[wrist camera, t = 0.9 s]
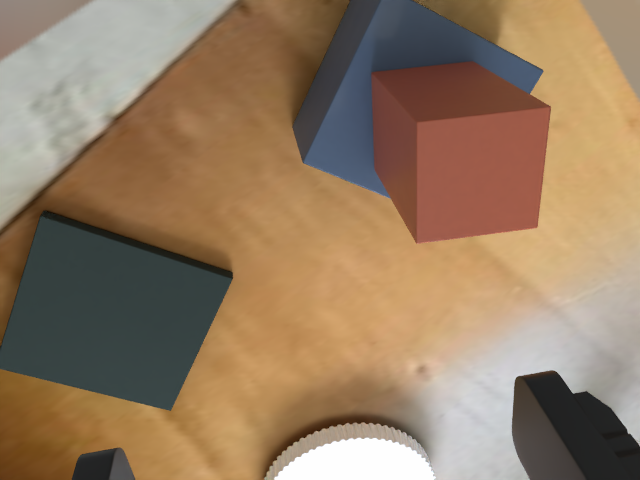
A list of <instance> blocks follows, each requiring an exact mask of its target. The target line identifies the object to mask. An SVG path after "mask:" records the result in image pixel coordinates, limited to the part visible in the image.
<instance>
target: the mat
mask: <svg viewBox="0 0 640 480" xmlns="http://www.w3.org/2000/svg"><path fill="white" fill-rule="evenodd" d="M232 279H233V273H232V272H229V271H226V270H223V269H220V268H217V267H214V266H211V265H208V264H205V263H201V262H198V261H195V260H192V259H189V258H186V257H183V256H180V255H177V254H174V253H171V252H168V251H165V250H162V249H159V248H156V247H153V246H150V245H147V244H144V243H141V242H138V241H135V240H132V239H129V238H126V237H123V236H120V235H117V234H114V233H111V232H108V231H105V230H102V229H99V228H96V227H93V226H89V225H86V224H83V223H80V222H77V221H74V220H71V219H68V218H65V217H62V216H59V215H56V214H53V213H50V212H47V211H43V213H42V214H41V216H40V219H39V222H38V225H37V229H36V232H35V235H34V239H33V242H32V245H31V248H30V252H29V255H28V258H27V262H26V265H25V268H24V272H23V275H22V278H21V282H20V285H19V288H18V291H17V295H16V298H15V301H14V305H13V308H12V311H11V315H10V318H9V321H8V325H7V328H6V331H5V334H4V338H3V341H2V344H1V348H0V369H3V370H7V371H11V372H15V373H19V374H23V375H27V376H32V377H36V378H40V379H44V380H48V381H52V382H56V383H60V384H64V385H68V386H72V387H76V388H80V389H84V390H88V391H92V392H96V393H101V394H105V395H109V396H113V397H117V398H121V399H125V400H129V401H133V402H137V403H141V404H145V405H149V406H153V407H157V408H161V409H165V410H169V411H171V409H172V407H173V405H174V403H175V401H176V398H177V396H178V394H179V392H180V390H181V388H182V386H183V384H184V381H185V379H186V377H187V375H188V373H189V371H190V369H191V367H192V364H193V362H194V360H195V358H196V356H197V354H198V352H199V350H200V347H201V345H202V343H203V341H204V339H205V337H206V335H207V332H208V330H209V328H210V326H211V324H212V322H213V320H214V318H215V315H216V313H217V311H218V309H219V307H220V305H221V303H222V301H223V298H224V296H225V294H226V292H227V290H228V288H229V286H230V284H231V281H232Z"/></svg>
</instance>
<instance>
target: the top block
mask: <svg viewBox="0 0 640 480" xmlns="http://www.w3.org/2000/svg"><path fill="white" fill-rule="evenodd" d="M371 82H372V111H373V141H374V170H375V172H376V173H377V175H378V177H379V179H380V180H381V182H382V184H383V186H384V187H385V189H386V191H387V193H388V194H389V196H390V198H391V200H392V201H393V203H394V205H395V207H396V208H397V210H398V212H399V214H400V215H401V217H402V219H403V221H404V222H405V224H406V226H407V228H408V229H409V231H410V233H411V235H412V236H413V238H414V240H415V242H416V243H417V244H419V243H426V242H434V241H441V240H449V239H457V238H464V237H472V236H480V235H487V234H495V233H502V232H510V231H518V230H525V229H533V228H537V226H538V218H539V209H540V200H541V191H542V182H543V173H544V164H545V155H546V146H547V137H548V129H549V120H550V111H551V107H550V106H549V105H547V104H546V103H544V102H542V101H540V100H539V99H537V98H535V97H534V96H532V95H530V94H528V93H527V92H525V91H523V90H521V89H520V88H518V87H516V86H515V85H513V84H511V83H509V82H508V81H506V80H504V79H503V78H501V77H499V76H497V75H496V74H494V73H492V72H491V71H489V70H487V69H485V68H484V67H482V66H480V65H479V64H477V63H475V62H473V61H470V62H461V63H452V64H443V65H433V66H424V67H415V68H405V69H396V70H387V71H377V72H372V73H371Z"/></svg>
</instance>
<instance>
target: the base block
mask: <svg viewBox="0 0 640 480" xmlns="http://www.w3.org/2000/svg"><path fill="white" fill-rule="evenodd" d="M470 61H473V62H475V63H477V64H479V65H480V66H482V67H484V68H485V69H487V70H489V71H491V72H492V73H494V74H496V75H497V76H499V77H501V78H503V79H504V80H506V81H508V82H509V83H511V84H513V85H515V86H516V87H518V88H520V89H521V90H523V91H525V92H527V93H528V94H530V93H531V91H532V89H533V88H534V86H535V85H536V83H537V81H538V80H539V78H540V76H541V75H542V73H543V70H542V69H540V68H538V67H537V66H535V65H533V64H531V63H529V62H527V61H525V60H523V59H522V58H520V57H518V56H516V55H514V54H512V53H510V52H508V51H506V50H505V49H503V48H501V47H499V46H497V45H495V44H493V43H491V42H490V41H488V40H486V39H484V38H482V37H480V36H478V35H476V34H474V33H473V32H471V31H469V30H467V29H465V28H463V27H461V26H459V25H458V24H456V23H454V22H452V21H450V20H448V19H446V18H444V17H443V16H441V15H439V14H437V13H435V12H433V11H431V10H429V9H427V8H426V7H424V6H422V5H420V4H418V3H416V2H414V1H412V0H350V3H349V5H348V7H347V9H346V11H345V13H344V16H343V18H342V20H341V22H340V24H339V26H338V29H337V31H336V33H335V35H334V37H333V39H332V42H331V44H330V46H329V48H328V50H327V52H326V55H325V57H324V59H323V61H322V63H321V65H320V68H319V70H318V72H317V74H316V76H315V78H314V81H313V83H312V85H311V87H310V89H309V91H308V94H307V96H306V98H305V100H304V102H303V104H302V107H301V109H300V111H299V113H298V115H297V117H296V120H295V122H294V124H293V126H292V127H293V131H294V134H295V138H296V141H297V145H298V148H299V151H300V155H301V158H302V162H303V163H304V164H307V165H309V166H312V167H314V168H317V169H319V170H322V171H324V172H326V173H329V174H331V175H334V176H336V177H339V178H341V179H344V180H346V181H349V182H351V183H354V184H356V185H358V186H361V187H363V188H366V189H368V190H371V191H373V192H376V193H378V194H381V195H383V196H386V197H388V198H390V196H389V194H388V193H387V191H386V189H385V187H384V186H383V184H382V182H381V180H380V179H379V177H378V175H377V173H376V172H375V170H374V141H373V111H372V82H371V73H372V72H377V71H387V70H396V69H405V68H415V67H424V66H433V65H443V64H452V63H461V62H470Z"/></svg>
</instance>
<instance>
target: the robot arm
mask: <svg viewBox="0 0 640 480" xmlns="http://www.w3.org/2000/svg"><path fill="white" fill-rule="evenodd" d="M512 436H513V441H514V445H515V449H516V452H517V455H518V457H519V459H520V461H521V463H522V465H523V467H524V469H525V471H526V473H527V475H528V476H529V478H530V480H640V446H639V445H638V443H637V442H636V441H635V439H634V438H633V437H632V436H631V434H628V432H627V429H626V428H625V426H624V425H623V424H622V422H621V421H620V420H619V419H618V417H617V416H616V415H615V413H614V412H613V411H612V409H611V408H610V407H608V406H607V405H605V404H604V403H602V402H601V401H600V400H598V399H597V398H595V397H594V396H592V395H591V394H590V393H588V392H587V391H586V392H580V393H575V394H573V393H572V392H571V390H570V389H569V388H568V386H567V385H566V383H565V382H564V381H563V379H562V378H561V376H560V375H559V374H558V373H557V372H556V371H553V370H551V371H546V372H540V373H535V374H529V375H524V376H518V377H517V378H516V380H515V386H514V402H513V418H512ZM72 480H135V477H134V475H133V472H132V470H131V467H130V465H129V462H128V460H127V457H126V455H125V453H124V451H123V449H122V448H114V449H109V450H103V451H98V452H92V453H87V454H82V455H80V457H79V458H78V460H77V463H76V467H75V470H74V474H73V477H72Z"/></svg>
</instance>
